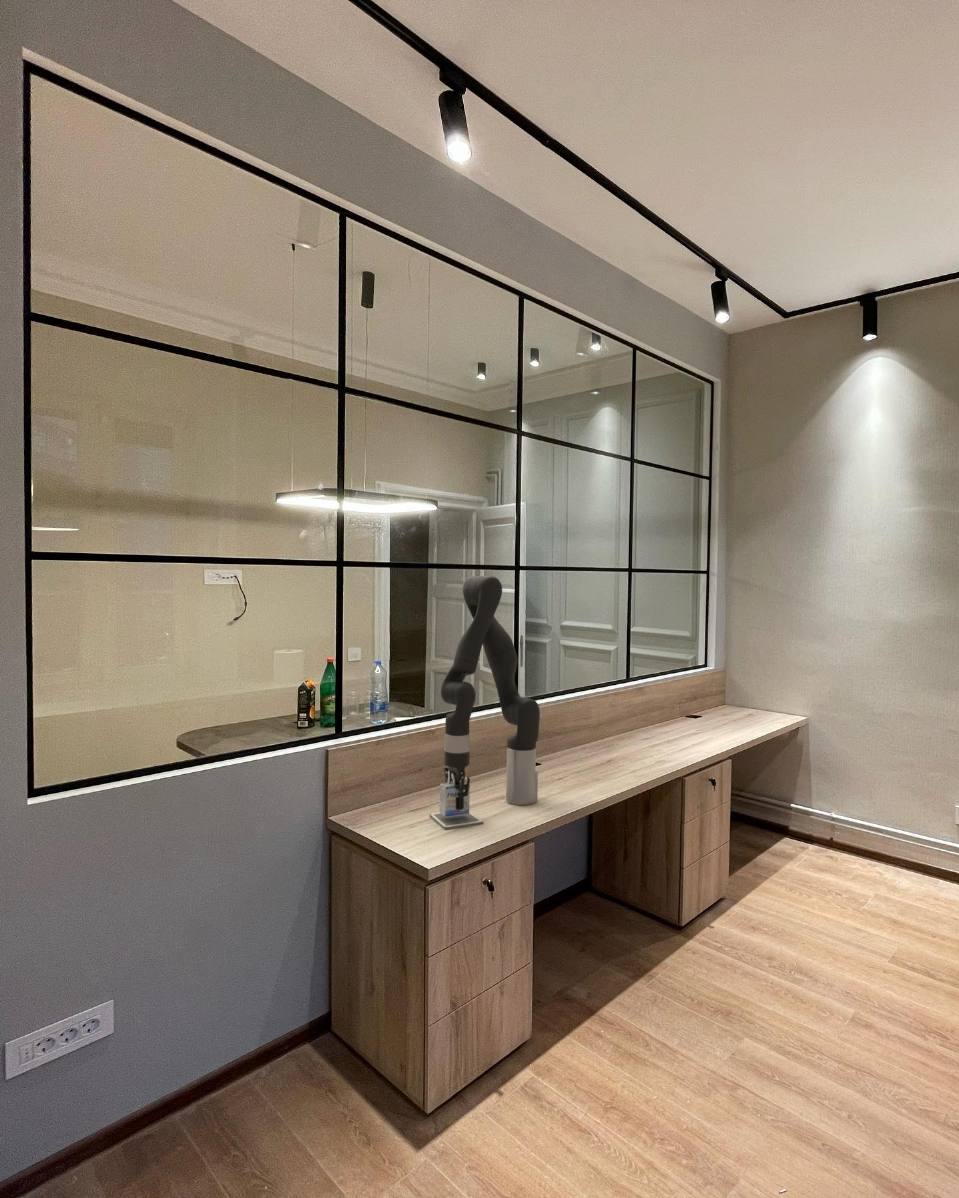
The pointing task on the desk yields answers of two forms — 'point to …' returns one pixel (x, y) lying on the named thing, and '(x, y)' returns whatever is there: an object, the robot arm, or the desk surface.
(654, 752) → the desk surface
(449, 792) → the medicine box
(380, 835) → the desk surface
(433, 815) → the mat
